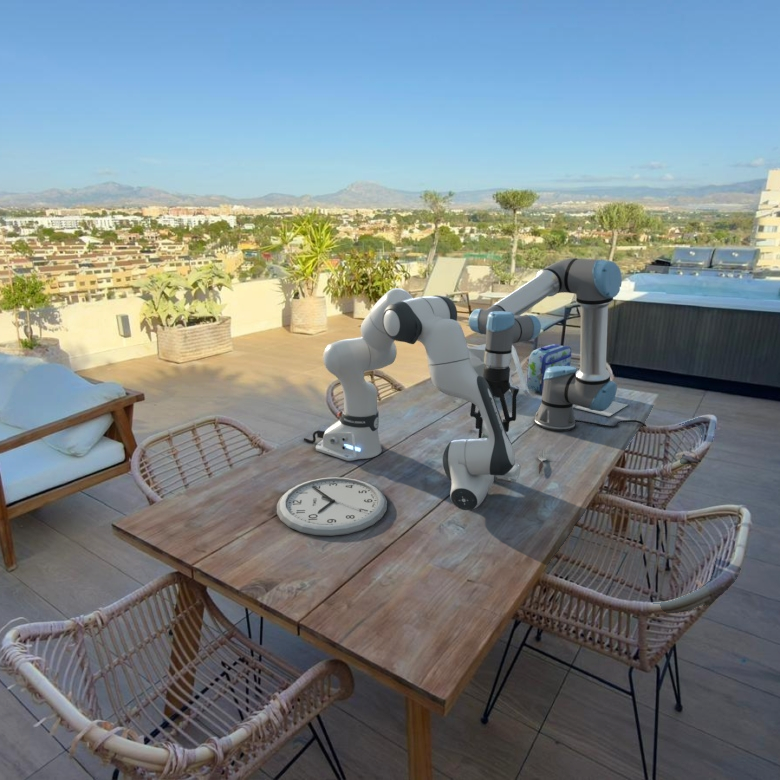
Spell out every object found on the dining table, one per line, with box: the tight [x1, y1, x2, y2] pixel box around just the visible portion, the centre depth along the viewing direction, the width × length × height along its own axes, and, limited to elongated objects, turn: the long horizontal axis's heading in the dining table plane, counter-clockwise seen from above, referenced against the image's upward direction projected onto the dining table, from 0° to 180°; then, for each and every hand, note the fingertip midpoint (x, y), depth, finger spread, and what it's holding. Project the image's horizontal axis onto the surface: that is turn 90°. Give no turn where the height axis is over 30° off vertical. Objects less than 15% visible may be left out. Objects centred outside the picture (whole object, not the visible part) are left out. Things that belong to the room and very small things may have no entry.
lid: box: [482, 423, 488, 436], centre depth 157 cm, size 6×6×2 cm
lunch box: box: [526, 343, 572, 394], centre depth 247 cm, size 26×11×21 cm, turn 134°
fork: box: [538, 449, 548, 474], centre depth 169 cm, size 3×16×2 cm, turn 160°
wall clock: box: [276, 476, 388, 537], centre depth 142 cm, size 30×2×30 cm
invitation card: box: [573, 400, 629, 418], centre depth 226 cm, size 21×1×15 cm
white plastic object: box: [467, 343, 531, 397], centre depth 245 cm, size 37×45×31 cm
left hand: (490, 456), depth 160 cm, fingers closed on jar, 5 cm apart
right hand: (491, 439), depth 158 cm, fingers closed on lid, 6 cm apart
